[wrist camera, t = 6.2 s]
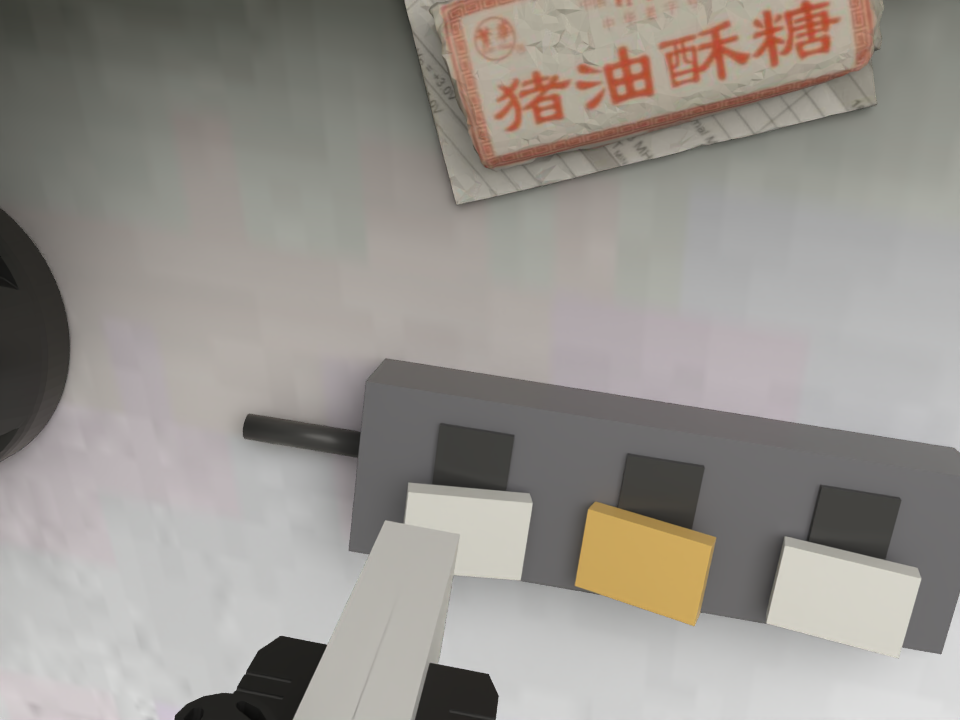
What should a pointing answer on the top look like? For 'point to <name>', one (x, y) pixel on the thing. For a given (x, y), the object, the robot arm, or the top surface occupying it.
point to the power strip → (651, 479)
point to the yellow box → (645, 562)
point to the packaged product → (628, 79)
